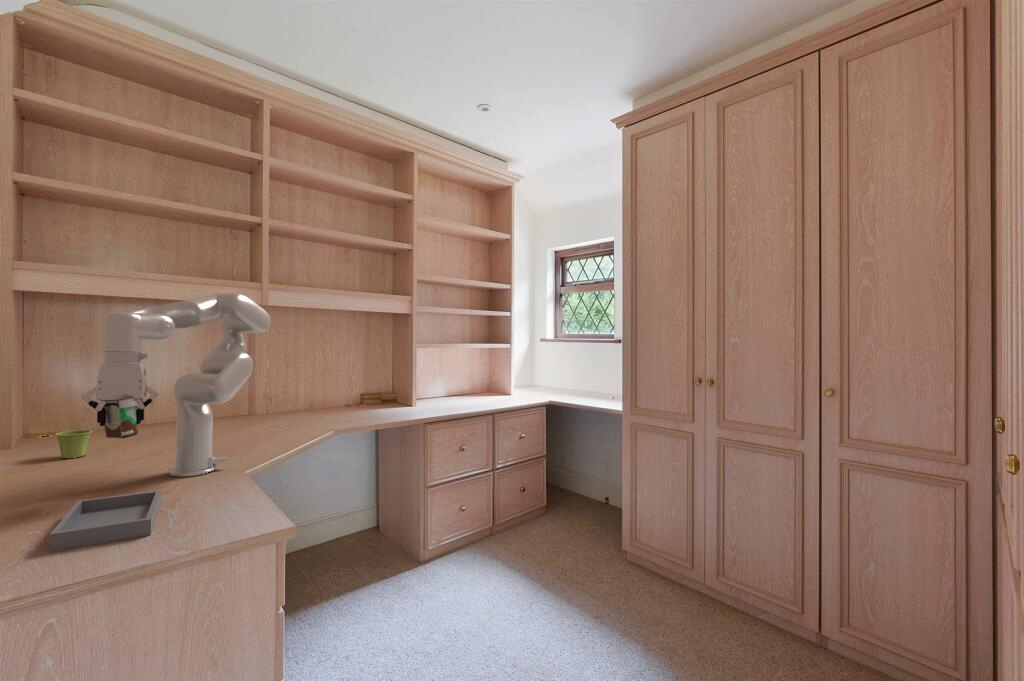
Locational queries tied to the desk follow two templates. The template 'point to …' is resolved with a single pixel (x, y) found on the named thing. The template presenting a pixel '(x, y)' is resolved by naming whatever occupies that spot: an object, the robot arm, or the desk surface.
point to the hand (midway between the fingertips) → (121, 423)
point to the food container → (121, 418)
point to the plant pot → (73, 443)
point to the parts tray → (106, 520)
